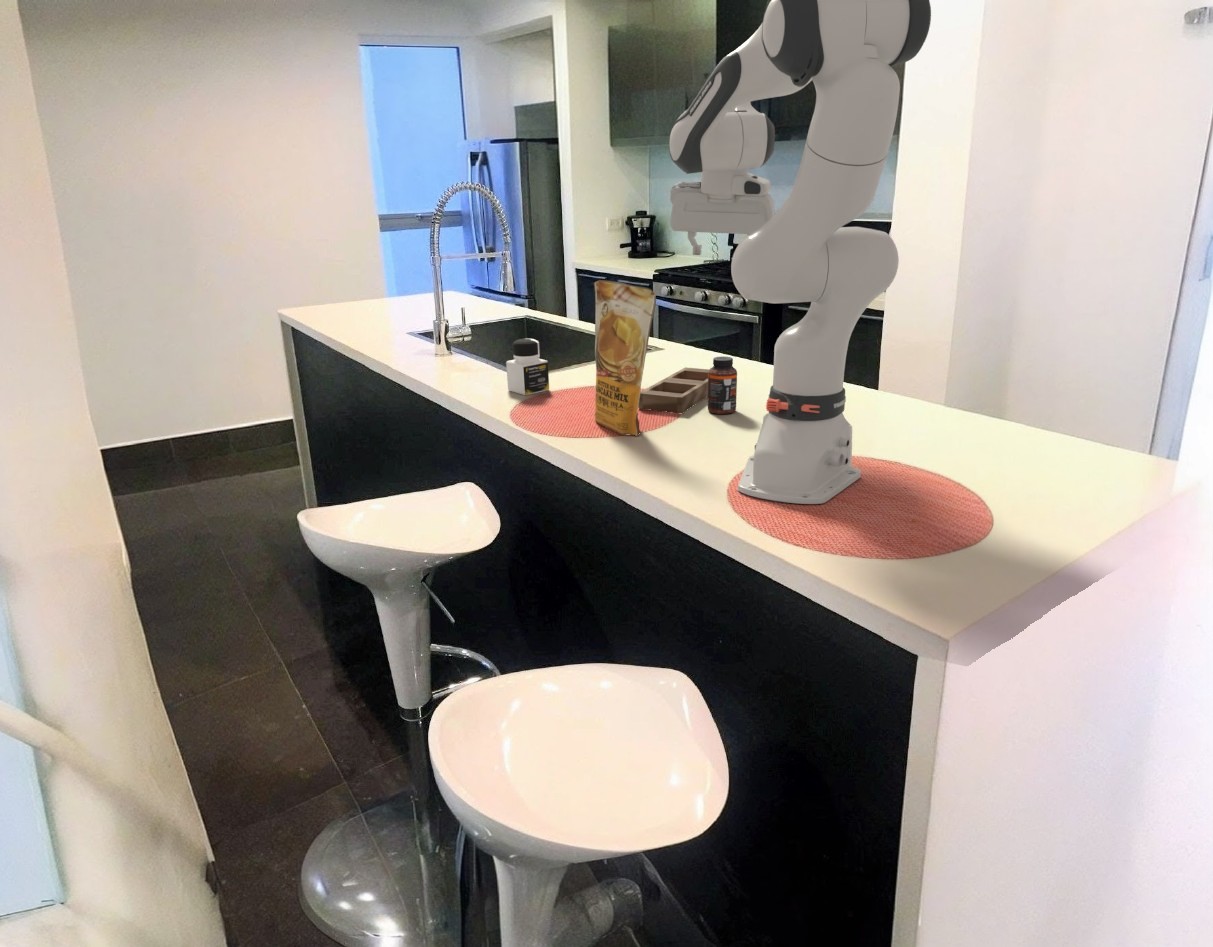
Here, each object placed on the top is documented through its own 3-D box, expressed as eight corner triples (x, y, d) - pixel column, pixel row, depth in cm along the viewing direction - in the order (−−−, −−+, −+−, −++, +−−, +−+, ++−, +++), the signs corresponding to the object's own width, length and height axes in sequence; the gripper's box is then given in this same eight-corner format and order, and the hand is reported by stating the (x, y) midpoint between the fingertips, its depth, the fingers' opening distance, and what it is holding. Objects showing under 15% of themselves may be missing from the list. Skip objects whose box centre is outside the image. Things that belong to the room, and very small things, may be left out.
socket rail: (681, 413, 173) (681, 397, 172) (638, 409, 178) (638, 393, 177) (724, 385, 195) (725, 370, 194) (685, 381, 199) (685, 367, 198)
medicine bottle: (525, 396, 191) (522, 344, 187) (507, 390, 196) (503, 340, 192) (550, 390, 195) (547, 339, 191) (531, 385, 200) (528, 335, 196)
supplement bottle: (735, 415, 171) (736, 361, 167) (706, 414, 172) (707, 361, 168) (736, 407, 177) (738, 355, 173) (708, 407, 178) (709, 354, 174)
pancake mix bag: (611, 412, 176) (608, 277, 166) (660, 434, 160) (659, 287, 151) (583, 417, 173) (578, 280, 163) (630, 440, 157) (627, 290, 148)
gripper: (667, 183, 159) (665, 256, 165) (775, 186, 154) (769, 261, 160) (674, 179, 165) (672, 250, 171) (778, 181, 159) (773, 254, 165)
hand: (720, 255), depth 165 cm, fingers open, 8 cm apart
